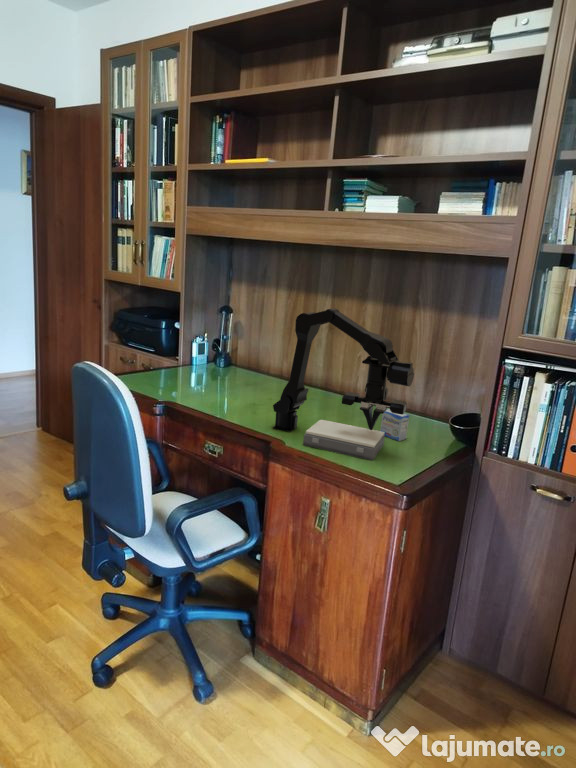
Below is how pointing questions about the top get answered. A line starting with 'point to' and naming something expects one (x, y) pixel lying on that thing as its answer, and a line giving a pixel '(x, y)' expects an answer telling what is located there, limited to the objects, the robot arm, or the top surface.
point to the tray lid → (346, 433)
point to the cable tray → (343, 446)
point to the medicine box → (394, 425)
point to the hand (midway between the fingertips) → (370, 429)
